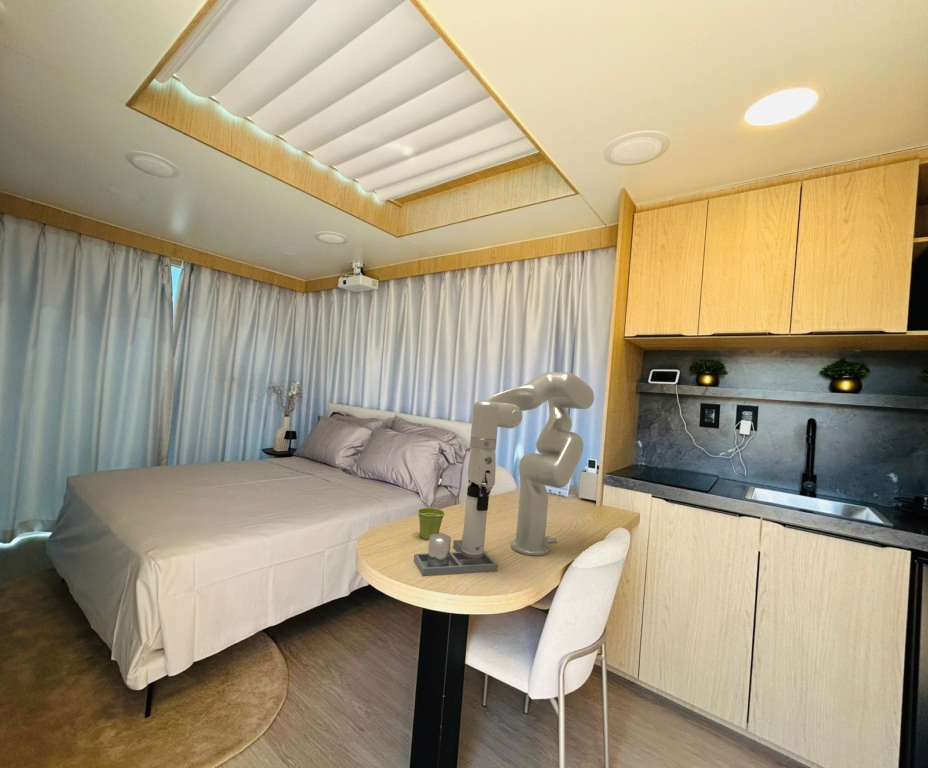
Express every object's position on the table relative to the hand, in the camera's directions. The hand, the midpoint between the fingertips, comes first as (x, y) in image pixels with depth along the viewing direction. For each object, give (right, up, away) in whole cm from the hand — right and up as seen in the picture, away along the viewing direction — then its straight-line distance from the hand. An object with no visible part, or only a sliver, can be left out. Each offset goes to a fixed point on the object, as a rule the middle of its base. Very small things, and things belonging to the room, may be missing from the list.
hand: (477, 506), depth 115 cm
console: (-3, -18, +9) cm, 20 cm away
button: (-3, -17, +9) cm, 20 cm away
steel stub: (-11, -15, -4) cm, 19 cm away
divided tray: (-6, -17, -3) cm, 18 cm away
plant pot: (-16, -17, +21) cm, 31 cm away
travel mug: (-1, -14, -1) cm, 14 cm away
